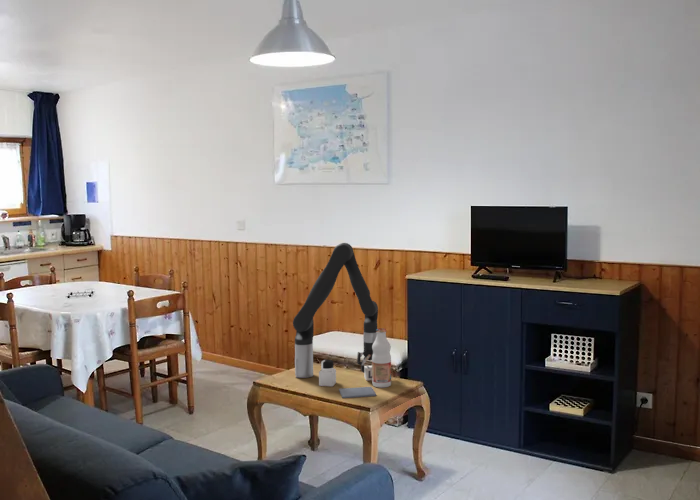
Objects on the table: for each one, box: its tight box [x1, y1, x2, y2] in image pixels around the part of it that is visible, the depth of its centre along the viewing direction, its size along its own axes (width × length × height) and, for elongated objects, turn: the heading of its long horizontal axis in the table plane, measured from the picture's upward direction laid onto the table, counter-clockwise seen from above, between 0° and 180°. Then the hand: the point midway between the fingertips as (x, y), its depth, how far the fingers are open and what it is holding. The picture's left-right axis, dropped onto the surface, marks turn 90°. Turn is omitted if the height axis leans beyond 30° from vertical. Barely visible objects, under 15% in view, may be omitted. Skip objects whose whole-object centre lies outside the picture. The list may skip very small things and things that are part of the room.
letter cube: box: [363, 364, 372, 381], centre depth 331 cm, size 6×6×6 cm
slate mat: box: [338, 386, 377, 399], centre depth 308 cm, size 16×12×1 cm
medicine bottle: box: [318, 359, 337, 387], centre depth 322 cm, size 7×7×12 cm
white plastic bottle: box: [371, 327, 392, 389], centre depth 319 cm, size 9×9×28 cm
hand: (371, 371), depth 331 cm, fingers open, 8 cm apart
